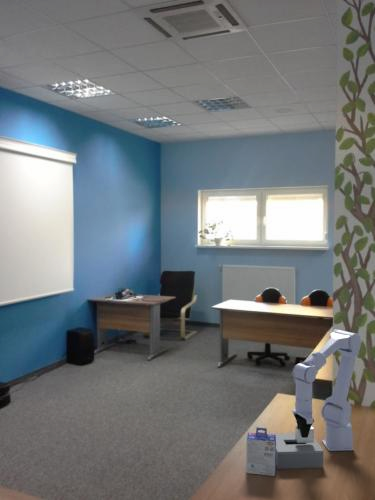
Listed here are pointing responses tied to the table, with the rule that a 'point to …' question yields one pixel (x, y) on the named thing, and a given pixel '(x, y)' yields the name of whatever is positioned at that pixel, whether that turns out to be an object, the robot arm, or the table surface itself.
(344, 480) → the table surface
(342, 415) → the robot arm
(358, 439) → the table surface
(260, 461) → the ink cartridge box
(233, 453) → the table surface
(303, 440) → the block
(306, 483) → the table surface
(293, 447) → the ballot box
